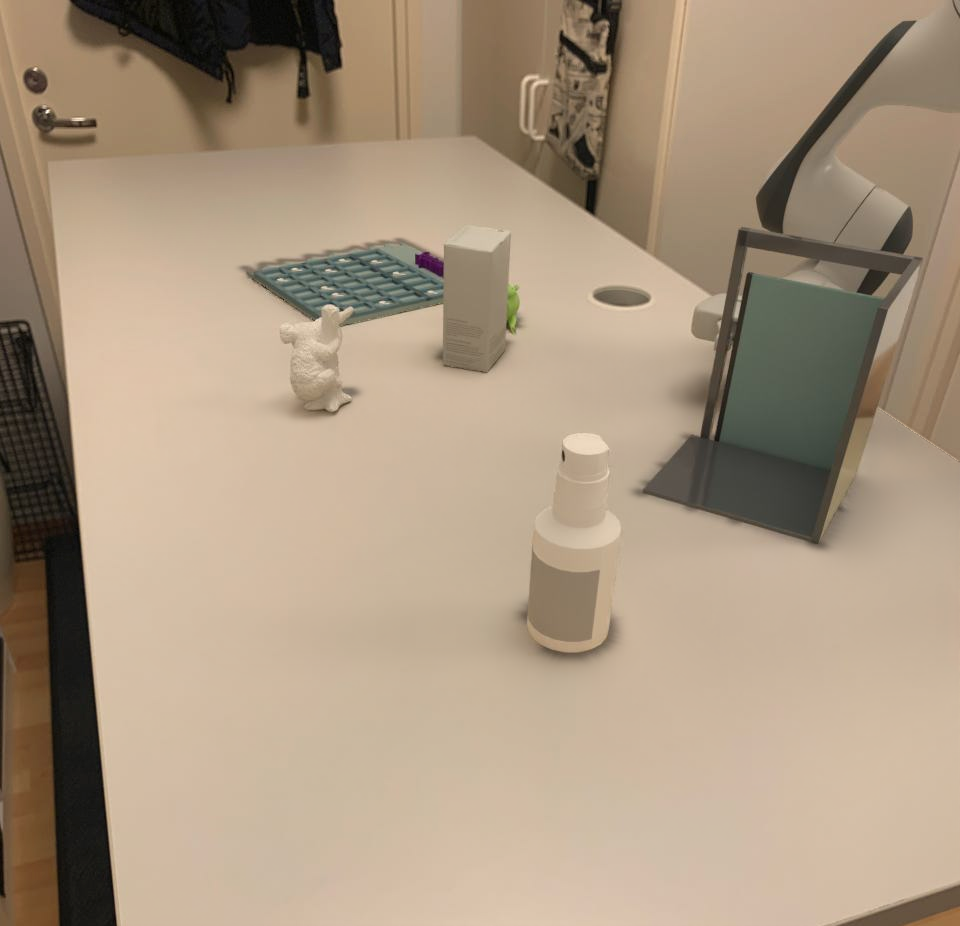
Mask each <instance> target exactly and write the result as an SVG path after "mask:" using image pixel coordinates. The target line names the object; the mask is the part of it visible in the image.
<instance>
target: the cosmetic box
mask: <svg viewBox="0 0 960 926" xmlns="http://www.w3.org/2000/svg"><path fill="white" fill-rule="evenodd" d="M511 240H512V231H511V230H509V229H501V228H492V227H485V226H478V225H471V224H465V225H463V227H462V228H460V229H459V230H458V231H456V233H455V234H454V235H452V236H450V238H449V239H448V240H446V241H445V242H443V262H444V291H443V305H442V309H443V311H442V314H443V315H442V316H443V317H442V365H443V366H444V365H447V366H446V367H450V366H453V367H452V368H456V367H459V368H458V369H462V368H465V369H464V370H468V369H471V370H470V371H474V370H477V371H476V372H480V371H483V372H482V373H489V371H490V369H491V368H492V367H493V366H494V364H495V363H496V362H497V361H498V359H499V358H500V357H501V356H502V354H503V353H504V352H505V350H506V343H507V341H506V338H507V322H506V320H507V300H508V284H509V281H510V280H509V279H510V261H511V259H510V258H511V242H512V241H511Z"/></svg>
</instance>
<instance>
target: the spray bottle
mask: <svg viewBox="0 0 960 926" xmlns="http://www.w3.org/2000/svg"><path fill="white" fill-rule="evenodd" d="M560 454H561V455H560V461H559V464H558V466H557V468H556V477H555V490H554V492H553V499H552V500H553V501H552V505H549V506H547V507H545V508H544V509H543V510H541V511H540V512H539V513H538V514H537V515H536V517H535V519H534V521H533V524H532V525H533V528H532V541H531V559H530V572H529V573H530V574H529V585H528V586H529V588H528V604H527V617H526V619H527V620H526V625H527V632H528V633H529V634H530V637H531V638H532V640H534V641H536V642H537V643H538V644H539V645H541V646H543V647H545V648H547V649H549V650H552V651H556V652H561V653H583V652H587V651H591V650H593V649H594V648H597V647H598V646H600V645H602V643H603V642H604V641H605V640H606V639H607V637H608V634H609V631H610V630H609V629H610V623H611V614H612V608H613V607H612V606H613V601H614V593H615V586H616V577H617V572H618V565H619V556H620V549H621V543H622V542H621V541H622V534H623V530H622V526H621V522H620V520H619V519H618V518H617V517H616V516H615V514H614V513H613V512H612V511H610V510H608V508H607V507H608V489H609V481H610V469H609V464H608V463H609V462H608V461H609V455H610V448H609V446H608V445H607V443H606V442H605V441H604V440H603V439H602V437H601V436H600V435H599V434H595V433H589V432H578V433H572V434H569V435H567V436H566V437H565V438H563V440H562V445H561V453H560Z"/></svg>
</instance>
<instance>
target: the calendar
mask: <svg viewBox="0 0 960 926" xmlns="http://www.w3.org/2000/svg"><path fill="white" fill-rule="evenodd" d="M280 264H281V265H280V266H263V268H262V270H256V271H253V272H252V271H248V270H245V274H246V275H247V276H248V277H250V278H251V279H253V280H254V282H256V281H257V282H258V284H259V283H260V284H261V286H262V285H263V286H264V288H265V287H266V288H267V289H266V288H265V289H266V290H268V289H269V290H270V291H269V290H268V291H269V292H271V291H272V292H273V293H272V292H271V293H272V294H274V293H275V294H276V295H275V294H274V295H275V296H277V295H278V296H279V297H278V296H277V297H278V298H280V297H281V298H282V299H281V298H280V299H281V300H283V299H284V300H285V301H284V300H283V301H284V302H286V301H287V302H288V303H287V302H286V303H287V304H288V305H290V304H291V305H290V306H291V307H293V306H294V307H295V308H294V307H293V308H294V309H296V308H297V309H298V310H297V309H296V310H297V311H299V310H300V311H301V313H302V312H303V313H304V314H303V313H302V314H303V315H305V314H306V315H307V316H306V315H305V316H306V317H308V316H309V317H310V318H309V317H308V318H309V319H311V318H312V319H313V320H312V319H311V320H312V321H314V320H316V319H319V318H320V317H322V312H321V309H322V308H323V307H324V306H325V305H329V304H330V305H334V306H335V307H338V308H339V310H340V311H339V312H342V311H344V310H345V309H347V308H349V307H352V308H353V309H354V311H353V313H352V314H351V315H350V316H349V317H348V318H346V319H345V320H344V321H343V323H341V324H340V325H339V326H341V327H343V326H342V325H346V324H350V325H352V324H351V323H354V324H356V323H355V322H359V321H363V322H365V321H364V320H368V319H372V320H374V319H373V318H376V319H378V318H377V317H381V318H383V317H382V316H385V317H387V316H386V315H390V314H394V315H396V314H395V313H398V314H400V313H399V312H403V313H405V312H404V311H407V312H409V311H408V310H412V311H414V310H413V309H416V310H418V309H417V308H420V309H422V308H421V307H425V308H427V307H426V306H429V307H431V306H430V305H434V306H436V305H435V304H438V305H440V304H439V303H443V291H444V260H440V259H439V258H438V257H434V256H433V255H431V252H430V251H423V252H422V251H421V250H419V249H416V248H414V247H412V246H410V245H407V244H405V243H403V242H401V241H399V245H398V244H383V246H370V247H369V249H368V250H359V249H355V250H352V251H349V252H347V253H344V254H343V253H342V254H341V253H340V254H339V253H338V254H329V257H323V258H322V257H321V258H320V257H319V258H318V257H317V258H316V257H315V258H314V257H313V258H307V261H305V262H295V263H294V262H289V263H288V262H287V263H286V262H284V263H280ZM257 282H256V283H257ZM260 284H259V285H260ZM263 286H262V287H263ZM300 311H299V312H300ZM390 316H391V315H390ZM368 321H369V320H368ZM359 323H360V322H359ZM346 326H347V325H346Z"/></svg>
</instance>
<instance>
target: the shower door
mask: <svg viewBox="0 0 960 926" xmlns="http://www.w3.org/2000/svg"><path fill="white" fill-rule="evenodd" d="M744 281H745V282H744V285H743V291H742V295H741V296H742V300H741V306H740V311H739V316H738V321H737V326H736V331H735V336H734V341H733V346H731V353H730V357H729V362H728V367H727V373H726V377H725V382H724V388H723V391H722V397H721V403H720V408H719V411H718V416H717V417H718V418H717V423H716V427H715V428H716V429H715V433H714V439H713V440H714V441H717V442H721V443H725V444H729V445H733V446H736V447H740V448H744V449H748V450H752V451H756V452H759V453H763V454H767V455H771V456H775V457H778V458H782V459H786V460H790V461H794V462H797V463H801V464H805V465H809V466H813V467H816V468H820V469H824V470H828V471H831V468H832V465H833V461H834V458H835V454H836V451H837V447H838V444H839V440H840V437H841V434H842V430H843V427H844V423H845V420H846V416H847V413H848V409H849V406H850V403H851V399H852V396H853V392H854V389H855V385H856V382H857V378H858V375H859V371H860V368H861V365H862V361H863V358H864V354H865V351H866V347H867V344H868V340H869V337H870V334H871V330H872V327H873V323H874V320H875V316H876V313H877V309H878V307H879V306H880V304H881V303H882V301H883V300H884V299H885V297H883V296H877V295H873V294H872V295H867V294H861V293H856V292H851V291H845V290H840V289H835V288H830V287H824V286H819V285H814V284H808V283H803V282H798V281H793V280H787V279H783V277H782V278H781V277H776V276H773V275H765V274H762V273H761V274H760V273H755V272H751V271H748V272H747V273H746V275H745V280H744Z"/></svg>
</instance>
